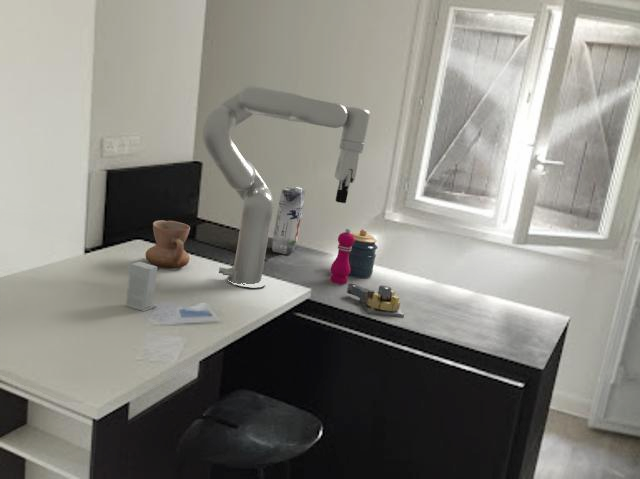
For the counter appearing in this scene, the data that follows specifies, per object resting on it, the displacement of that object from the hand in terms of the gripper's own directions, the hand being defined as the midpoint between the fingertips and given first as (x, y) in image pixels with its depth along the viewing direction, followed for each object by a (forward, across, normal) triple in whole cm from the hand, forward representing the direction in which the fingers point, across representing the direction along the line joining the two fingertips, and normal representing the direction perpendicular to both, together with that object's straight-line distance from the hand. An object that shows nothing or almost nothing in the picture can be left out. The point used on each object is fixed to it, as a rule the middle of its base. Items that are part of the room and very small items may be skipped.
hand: (340, 202), depth 226 cm
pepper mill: (+32, -18, +9) cm, 38 cm away
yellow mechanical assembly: (+30, +6, +15) cm, 34 cm away
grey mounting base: (+32, +9, +18) cm, 38 cm away
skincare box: (+32, +33, -58) cm, 74 cm away
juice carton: (+32, -53, -7) cm, 62 cm away
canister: (+32, -33, +19) cm, 50 cm away
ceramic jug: (+33, -11, -52) cm, 62 cm away
